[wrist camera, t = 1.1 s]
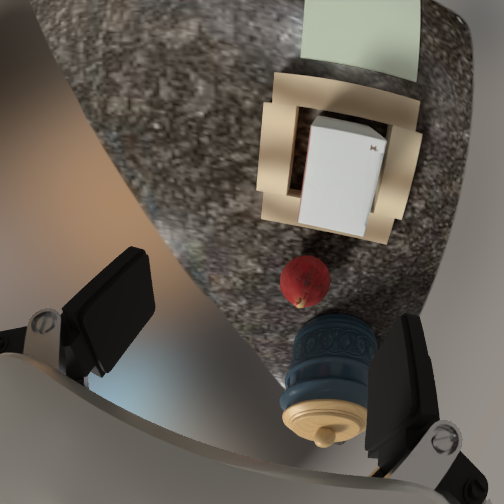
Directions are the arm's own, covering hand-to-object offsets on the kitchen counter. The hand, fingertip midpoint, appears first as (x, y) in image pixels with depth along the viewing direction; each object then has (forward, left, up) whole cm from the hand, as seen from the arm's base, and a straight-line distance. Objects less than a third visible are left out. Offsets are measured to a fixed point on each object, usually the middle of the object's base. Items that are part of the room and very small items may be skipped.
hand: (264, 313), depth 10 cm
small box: (-1, +2, -24) cm, 24 cm away
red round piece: (+13, +1, -24) cm, 27 cm away
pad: (-17, +3, -23) cm, 29 cm away
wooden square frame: (-1, +2, -23) cm, 24 cm away
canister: (+26, +8, -24) cm, 36 cm away
